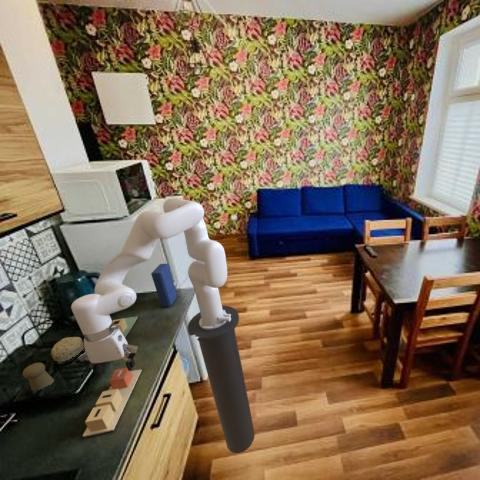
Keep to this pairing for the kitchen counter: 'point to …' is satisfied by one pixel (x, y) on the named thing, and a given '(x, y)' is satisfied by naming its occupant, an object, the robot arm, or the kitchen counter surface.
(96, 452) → the kitchen counter surface
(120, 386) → the letter block
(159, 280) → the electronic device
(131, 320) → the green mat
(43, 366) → the cork
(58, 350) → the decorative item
